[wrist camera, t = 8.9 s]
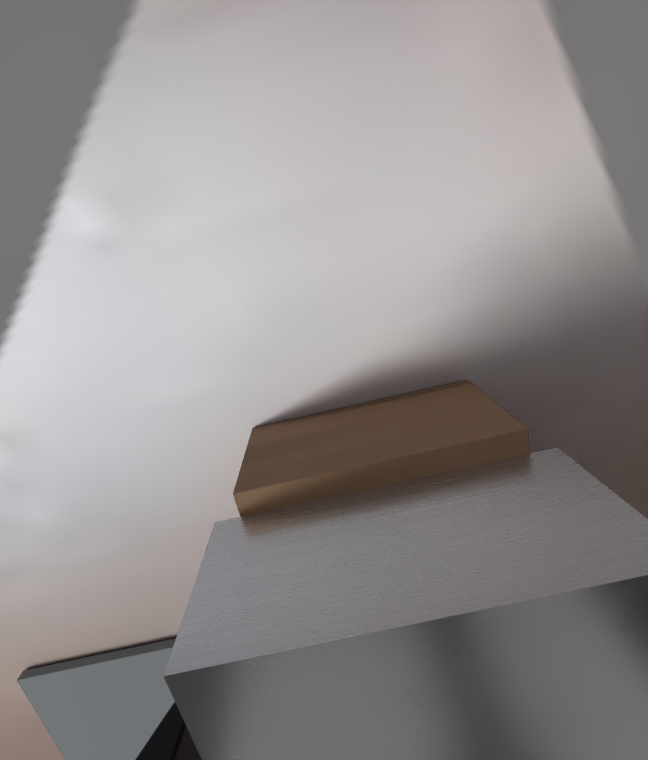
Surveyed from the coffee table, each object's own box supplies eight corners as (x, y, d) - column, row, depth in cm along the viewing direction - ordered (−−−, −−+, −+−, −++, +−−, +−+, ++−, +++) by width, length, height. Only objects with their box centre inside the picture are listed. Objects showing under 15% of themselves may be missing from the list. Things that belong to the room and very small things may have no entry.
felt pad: (311, 794, 15) (311, 805, 15) (120, 833, 15) (116, 844, 15) (249, 622, 12) (248, 631, 12) (23, 670, 13) (16, 680, 12)
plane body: (529, 871, 17) (575, 1000, 14) (393, 897, 17) (411, 1030, 14) (467, 379, 10) (528, 428, 8) (252, 428, 11) (232, 493, 8)
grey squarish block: (573, 711, 10) (710, 949, 7) (302, 766, 10) (300, 1025, 7) (557, 447, 8) (746, 596, 4) (215, 522, 8) (148, 720, 5)
